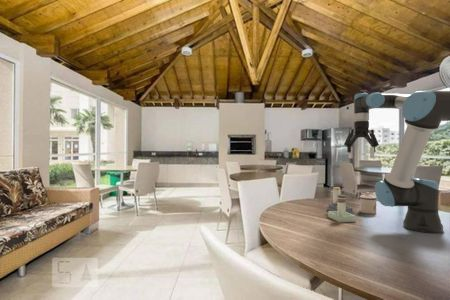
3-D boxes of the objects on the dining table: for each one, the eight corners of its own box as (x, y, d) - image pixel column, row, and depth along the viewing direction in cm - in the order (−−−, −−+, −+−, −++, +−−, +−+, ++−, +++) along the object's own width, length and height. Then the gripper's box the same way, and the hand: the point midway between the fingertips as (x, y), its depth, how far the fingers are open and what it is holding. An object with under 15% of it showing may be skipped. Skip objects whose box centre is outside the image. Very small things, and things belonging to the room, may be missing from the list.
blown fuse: (347, 219, 142) (347, 196, 142) (340, 219, 141) (340, 196, 141) (342, 217, 146) (342, 194, 146) (335, 217, 145) (335, 195, 145)
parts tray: (355, 221, 139) (355, 215, 139) (339, 222, 137) (339, 216, 137) (343, 216, 149) (343, 210, 149) (327, 216, 148) (327, 211, 148)
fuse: (341, 208, 160) (341, 188, 160) (335, 208, 159) (335, 188, 159) (337, 206, 164) (337, 187, 164) (331, 207, 163) (331, 187, 163)
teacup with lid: (378, 214, 153) (378, 194, 153) (360, 213, 156) (360, 193, 156) (374, 210, 164) (374, 190, 164) (357, 209, 167) (357, 190, 167)
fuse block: (353, 215, 152) (353, 207, 152) (340, 215, 151) (340, 208, 151) (339, 209, 166) (339, 202, 166) (327, 209, 165) (327, 203, 165)
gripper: (376, 122, 160) (376, 157, 160) (337, 121, 156) (337, 158, 156) (385, 120, 153) (385, 158, 153) (345, 120, 149) (345, 158, 149)
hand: (361, 158), depth 155 cm, fingers open, 13 cm apart
